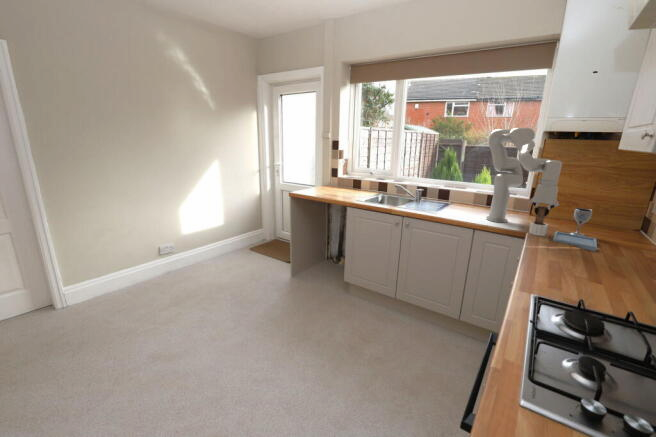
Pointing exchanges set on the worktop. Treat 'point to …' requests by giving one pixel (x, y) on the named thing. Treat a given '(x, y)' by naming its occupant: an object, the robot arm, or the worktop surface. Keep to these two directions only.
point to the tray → (576, 240)
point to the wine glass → (581, 218)
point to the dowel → (540, 215)
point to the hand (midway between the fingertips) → (540, 214)
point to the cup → (538, 229)
